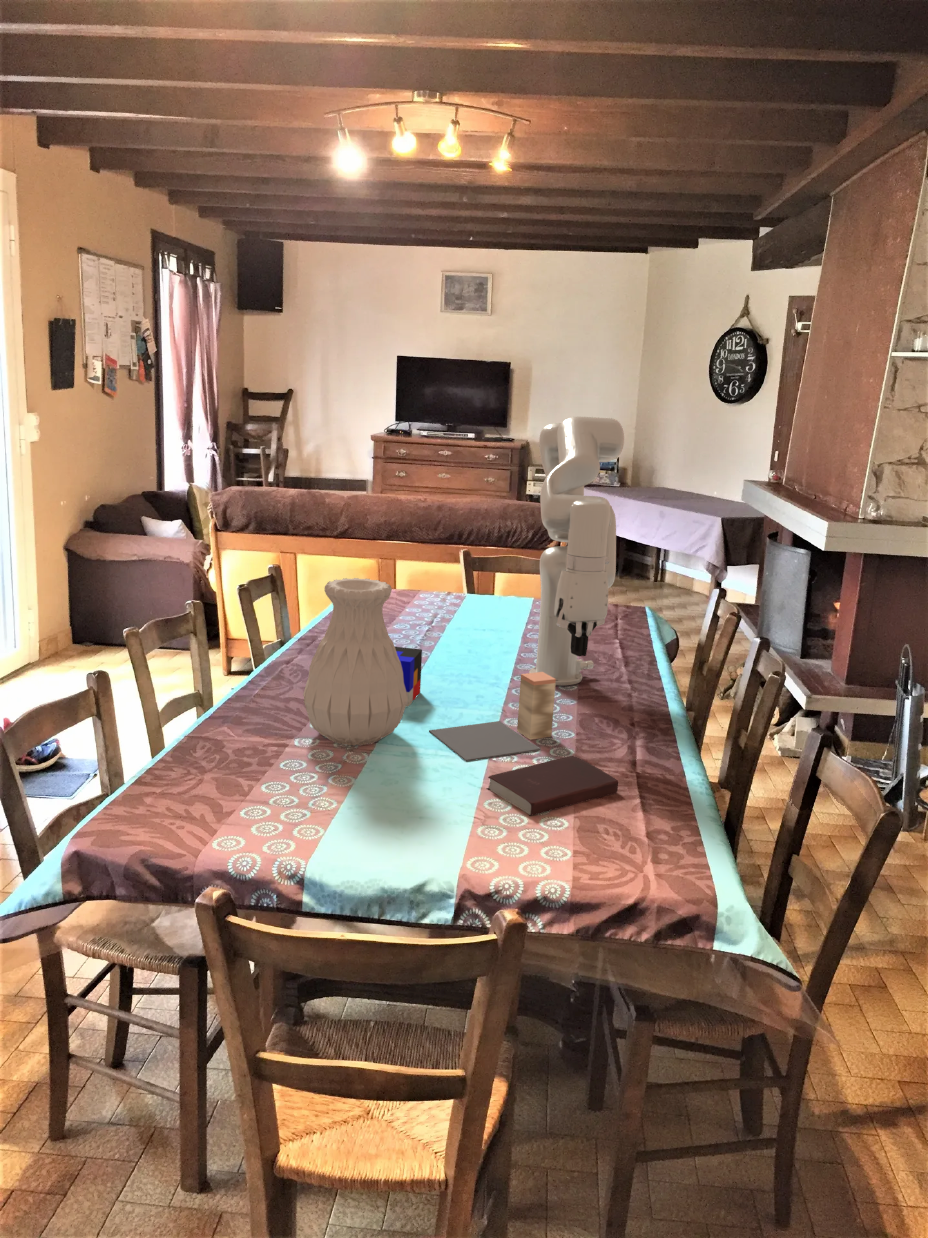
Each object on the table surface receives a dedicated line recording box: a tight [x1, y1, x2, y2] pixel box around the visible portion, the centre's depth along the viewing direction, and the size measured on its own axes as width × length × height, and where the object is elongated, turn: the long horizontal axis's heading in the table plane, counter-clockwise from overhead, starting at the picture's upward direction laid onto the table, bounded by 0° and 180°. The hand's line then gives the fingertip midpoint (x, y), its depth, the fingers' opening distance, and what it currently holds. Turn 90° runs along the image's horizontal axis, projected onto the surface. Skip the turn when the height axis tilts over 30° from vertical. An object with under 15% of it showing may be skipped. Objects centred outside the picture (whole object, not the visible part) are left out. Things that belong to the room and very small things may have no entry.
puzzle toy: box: [395, 646, 423, 707], centre depth 210 cm, size 10×10×10 cm
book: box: [486, 755, 619, 817], centre depth 167 cm, size 12×19×3 cm, turn 125°
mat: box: [428, 720, 541, 762], centre depth 189 cm, size 16×16×1 cm
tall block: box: [516, 672, 556, 741], centre depth 192 cm, size 5×5×12 cm
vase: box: [302, 577, 408, 747], centre depth 184 cm, size 20×20×30 cm
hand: (578, 654), depth 193 cm, fingers closed
